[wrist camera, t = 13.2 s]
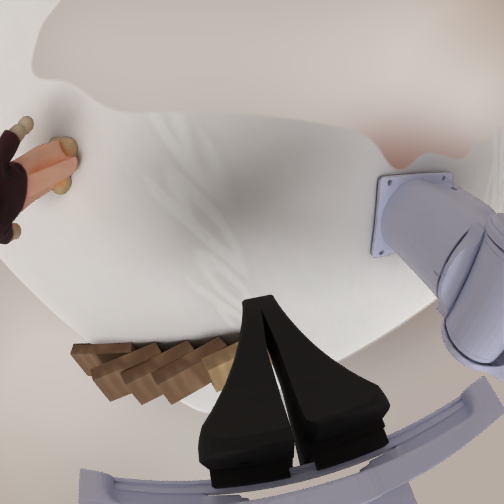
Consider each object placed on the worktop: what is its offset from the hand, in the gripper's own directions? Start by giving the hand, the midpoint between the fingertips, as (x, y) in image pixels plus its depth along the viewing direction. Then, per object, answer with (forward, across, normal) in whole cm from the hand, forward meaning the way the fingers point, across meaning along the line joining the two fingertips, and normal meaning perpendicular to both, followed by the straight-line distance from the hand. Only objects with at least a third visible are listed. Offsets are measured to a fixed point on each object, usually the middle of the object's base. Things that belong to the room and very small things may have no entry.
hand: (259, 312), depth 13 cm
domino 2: (+9, +10, +14) cm, 20 cm away
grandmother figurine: (+10, +12, -8) cm, 18 cm away
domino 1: (+9, +13, +14) cm, 21 cm away
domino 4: (+9, +3, +15) cm, 18 cm away
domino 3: (+9, +7, +14) cm, 18 cm away
